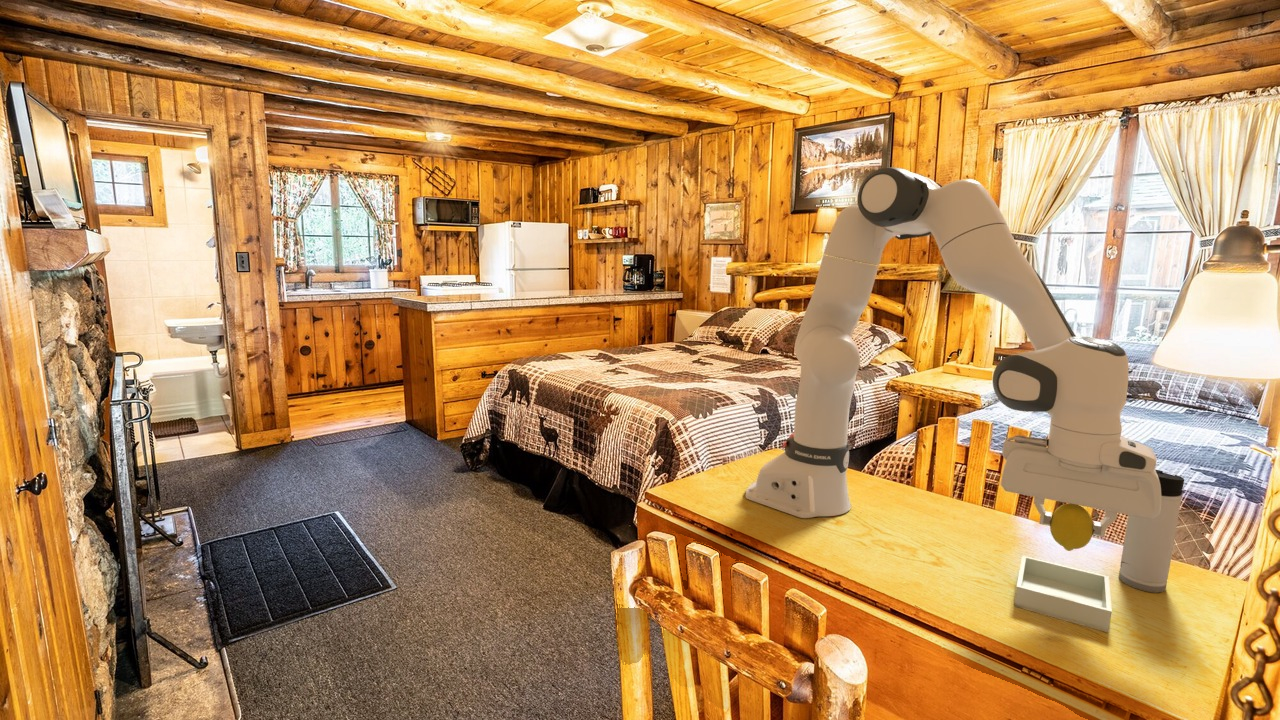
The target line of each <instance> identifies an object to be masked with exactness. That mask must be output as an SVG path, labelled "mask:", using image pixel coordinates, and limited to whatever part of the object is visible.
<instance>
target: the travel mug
mask: <svg viewBox="0 0 1280 720" xmlns="http://www.w3.org/2000/svg"><path fill="white" fill-rule="evenodd" d="M1155 470H1156V473H1157V475H1158V478H1159V481H1160V485H1161V511H1160V514H1159V515H1158V516H1156V517H1155V518H1153V519H1148V518H1143V517H1138V516H1133V515H1127V521H1126V525H1125V526H1126V528H1125V534H1124V540H1123V547H1122V553H1121V560H1120V565H1119V572H1118V578H1119V580H1121V582H1123V583H1124V584H1125V585H1127V586H1129V587H1131V588H1134V589H1136V590H1140V591H1143V592H1148V593H1161V592H1164V591H1166V589H1167V586H1168V585H1167V584H1168V579H1169V574H1170V566H1171V560H1172V555H1173V550H1174V545H1175V538H1176V533H1177V532H1176V531H1177V527H1178V521H1179V515H1180V509H1181V502H1182V498H1183V497H1182V496H1183V488H1184V483H1185V478H1184V477H1182V476H1181V475H1177V474H1174V475H1173V474H1170V473H1167V472H1164V471H1163V470H1159V469H1155Z"/></svg>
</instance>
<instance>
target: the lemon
mask: <svg viewBox="0 0 1280 720" xmlns="http://www.w3.org/2000/svg"><path fill="white" fill-rule="evenodd" d="M1092 518H1093V517H1092V516H1091V514H1090V512H1088V511H1087V509H1086V508H1085V507H1084V506H1080V505H1075V504H1070V503H1064V504H1062V505H1060V506H1058V507H1057V508H1056V509H1055V510H1054V511H1053V513H1052V515H1051V523H1050V526H1049V529H1050V534H1051V537H1052V538H1053V540H1054V541H1055V542H1056V543H1057V544H1058V545H1060V546H1062V547H1063V549H1064V550H1065V551H1068V552H1071V551H1074V550H1077V549H1078V550H1079V549H1082V548H1084V547H1085V546H1087V545H1088V544H1089V543H1090V541H1091V539H1092V538H1093V536H1094V535H1093V524H1094V521H1093V519H1092Z"/></svg>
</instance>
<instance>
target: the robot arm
mask: <svg viewBox="0 0 1280 720" xmlns="http://www.w3.org/2000/svg"><path fill="white" fill-rule="evenodd" d="M856 202H857V204H852V205H849V206H846V207H845V208H843V209H842V210H841V211H840V213H839V214H838V215H837V218H836V220H835V221H834V224H833V226H832V229H831V231H830V234H829V236H828V238H827V241H826V245H825V247H824V251H823V255H822V259H821V263H820V265H819V270H818V273H817V277H816V281H815V284H814V288H813V291H812V295H811V297H810V300H809V302H808V304H807V307H806V310H805V313H804V315H803V318H802V320H801V324H800V327H799V330H798V332H797V335H796V336H797V337H796V339H795V342H794V354H795V356H796V358H797V360H798V362H799V363H800V378H799V382H798V383H799V384H798V390H797V391H798V392H797V397H796V401H795V403H794V406H795V408H794V425H793V426H794V427H793V433H792V434H790V435H789V436H788V438H787V439H785V441H784V442H783V443H782V446H781V449H784V452H783V453H781V454H780V455H777V456H776V457H774V458H772V459H771V460H769V461H768V462H766V463H765V464H764V465H762V467H761V468H760V470H759V472H758V475H757V477H756V480H755V481H754V482H752V483H750V484H749V486H748V487H747V488H746V490H745V496H744V497H745V498H746V499H747V500H749V501H752V502H755V503H757V504H760V505H764V506H767V507H769V508H771V509H775V510H778V511H780V512H783V513H786V514H789V515H792V516H794V517H797V518H800V519H810V518H815V517H833V516H839V515H843V514H846V513H847V512H849V511H850V510H851V508H852V505H851V501H850V497H849V496H850V495H849V490H848V489H849V488H848V480H847V470H848V467H849V461H850V460H849V459H850V451H849V450H850V443H849V442H848V435H849V433H848V432H849V417H850V409H851V403H852V398H853V394H854V391H855V390H854V389H855V385H856V379H857V374H858V371H859V370H860V366H861V365H860V364H861V356H860V351H859V347H858V345H857V343H856V342H855V341H854V339H853V338H852V337H853V334H854V332H855V329H856V326H857V325H858V322H859V320H860V318H861V316H862V314H863V312H864V310H865V309H866V308H867V306H868V305H869V302H870V297H871V295H872V291H873V287H874V284H875V281H876V278H877V273H878V270H879V266H880V264H881V260H882V256H883V252H884V249H885V247H886V245H887V244H888V243H889V241H890V240H891V239H893V238H895V239H897V240H901V241H902V240H907V239H913V238H915V239H916V238H922V237H923V238H924V237H927V236H931V235H932V236H933V238H934V240H935V242H936V245H937V248H938V250H939V253H940V256H941V259H942V261H943V263H944V266H945V269H946V270H947V272H948V273H949V275H950V276H951V278H952V279H953V280H954V282H955V283H957V285H959V286H960V287H962V288H963V289H966V290H967V291H970V292H974V293H977V294H980V295H984V296H985V297H989V298H991V299H993V300H996V301H997V302H1000V303H1001V304H1003V305H1004V306H1005V307H1007V308H1009V310H1011V312H1012V313H1013V314H1014V316H1016V319H1017V320H1018V322H1019V324H1020V325H1021V327H1022V330H1023V331H1024V333H1025V334H1026V336H1027V338H1028V340H1029V342H1030V343H1031V345H1032V347H1033V349H1034V350H1030V351H1023V352H1017V353H1014V354H1011V355H1007V356H1005V357H1004V358H1003V359H1001V360H1000V361H999V362H998V363H997V364H996V366H995V368H994V371H993V375H992V387H993V390H994V393H995V396H996V397H997V399H998V400H999V401H1000V402H1001V403H1002V405H1004V406H1005V407H1007V408H1008V409H1011V410H1013V411H1018V412H1019V411H1020V412H1026V413H1030V412H1031V413H1032V412H1033V413H1046V414H1048V415H1049V416H1050V422H1049V424H1050V425H1049V431H1048V439H1046V438H1040V437H1030V436H1025V435H1019V434H1016V435H1015V436H1011V437H1009V438H1008V437H1007V439H1005V440H1004V442H1003V443H1002V450H1001V453H1002V457H1003V459H1004V460H1005V462H1004V467H1003V470H1002V476H1001V479H1000V486H1001V487H1002V489H1003V490H1004V491H1005V492H1008V493H1013V494H1019V495H1024V496H1030V497H1034V498H1033V504H1034V506H1035V508H1036V510H1037V511H1038V514H1039V515H1040V516H1039V523H1038V524H1039V525H1044V526H1049V527H1050V523H1051V518H1052V515H1053V513H1052V512H1051V511H1046V509H1045V507H1044V504H1045V501H1046V500H1049V501H1056V502H1059V503H1064V504H1075V505H1079V506H1081V507H1086V508H1091V509H1097V510H1102V511H1104V514H1105V515H1104V518H1102V520H1101V521H1096V520H1094V521H1093V535H1092V536H1095V537H1100V538H1105V536H1106V530H1107V528H1108V527H1109V526H1111V525H1112V524H1113V523H1114V522H1115V521H1116V520H1117V519H1118V513H1119V514H1122V515H1127V516H1128V515H1133V516H1138V517H1143V518H1148V519H1153V518H1155V517H1156V516H1158V515H1159V514H1160V511H1161V485H1160V481H1159V478H1158V475H1157V473H1156V470H1157V469H1156V466H1157V462H1158V461H1157V456H1156V453H1155V451H1154V450H1153V449H1152V448H1151V447H1149V446H1147V445H1145V444H1142V443H1141V442H1140V443H1139V442H1136V441H1134V440H1132V439H1129V438H1127V437H1124V436H1122V430H1123V427H1122V422H1121V415H1122V411H1123V409H1124V407H1125V406H1126V402H1127V396H1128V389H1129V388H1128V387H1129V375H1130V374H1129V372H1130V371H1129V367H1130V366H1129V359H1128V355H1127V352H1126V351H1125V350H1124V348H1123V347H1121V346H1119V345H1118V344H1116V343H1114V342H1112V341H1109V340H1106V339H1102V338H1099V337H1091V336H1085V335H1084V336H1083V335H1082V336H1081V335H1078V336H1077V335H1076V334H1075V332H1074V331H1073V329H1072V327H1071V326H1070V324H1069V322H1068V320H1067V319H1066V316H1065V315H1064V314H1063V312H1062V310H1061V309H1060V307H1059V305H1058V303H1057V301H1056V300H1055V298H1054V296H1053V294H1052V293H1051V291H1050V290H1049V288H1048V287H1047V284H1046V283H1045V281H1044V280H1043V278H1042V277H1041V275H1039V273H1038V272H1037V271H1036V269H1035V268H1034V267H1033V266H1032V265H1031V264H1030V262H1029V261H1028V259H1026V256H1025V255H1024V253H1023V252H1022V251H1021V249H1020V247H1019V246H1018V244H1017V242H1016V240H1015V239H1014V236H1013V234H1012V232H1011V230H1010V228H1009V226H1008V224H1007V221H1006V219H1005V218H1004V215H1003V214H1002V212H1001V209H1000V208H999V206H998V205H997V203H996V202H995V200H994V198H993V197H992V196H991V194H990V192H988V190H987V189H986V188H985V186H984V185H983V184H982V183H980V182H979V181H978V180H977V181H976V180H975V179H971V178H969V179H968V178H967V179H966V178H965V179H964V178H963V179H958V180H954V181H952V182H950V183H947V184H945V185H944V186H943V185H941V184H940V183H939V182H938V183H937V182H935V181H934V180H932V179H930V178H929V177H926V176H925V175H923V174H919V173H916V172H911V171H909V170H907V169H905V168H901V167H896V166H895V167H894V166H893V167H892V166H891V167H890V166H889V167H882V168H879V169H876V170H875V171H873V172H871V173H870V174H868V176H866V177H865V179H864V180H863V182H862V183H861V184H860V187H859V189H858V192H857V201H856Z"/></svg>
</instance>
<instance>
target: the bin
mask: <svg viewBox="0 0 1280 720" xmlns="http://www.w3.org/2000/svg"><path fill="white" fill-rule="evenodd" d="M1110 585H1111V584H1110V576H1109V575H1105V574H1101V573H1097V572H1092V571H1088V570H1084V569H1080V568H1076V567H1073V566H1069V565H1068V566H1067V565H1064V564H1060V563H1055V562H1051V561H1047V560H1042V559H1039V558H1035V557H1031V556H1026V555H1024V554H1023V555H1021V562H1020V565H1019V572H1018V577H1017V581H1016V589H1015V594H1014V597H1015V598H1014V602H1013V603H1014V605H1013V607H1016V608H1018V609H1019V608H1020V609H1023V610H1027V611H1031V612H1033V613H1037V614H1040V615H1045V616H1049V617H1052V618H1055V619H1059V620H1062V621H1066V622H1069V623H1073V624H1076V625H1080V626H1084V627H1087V628H1090V629H1094V630H1098V631H1101V632H1105V633H1108V634H1109V631H1110V627H1111V625H1110V624H1111V618H1112V613H1113V612H1112V611H1113V610H1112V599H1111V596H1112V595H1111V587H1110Z"/></svg>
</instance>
